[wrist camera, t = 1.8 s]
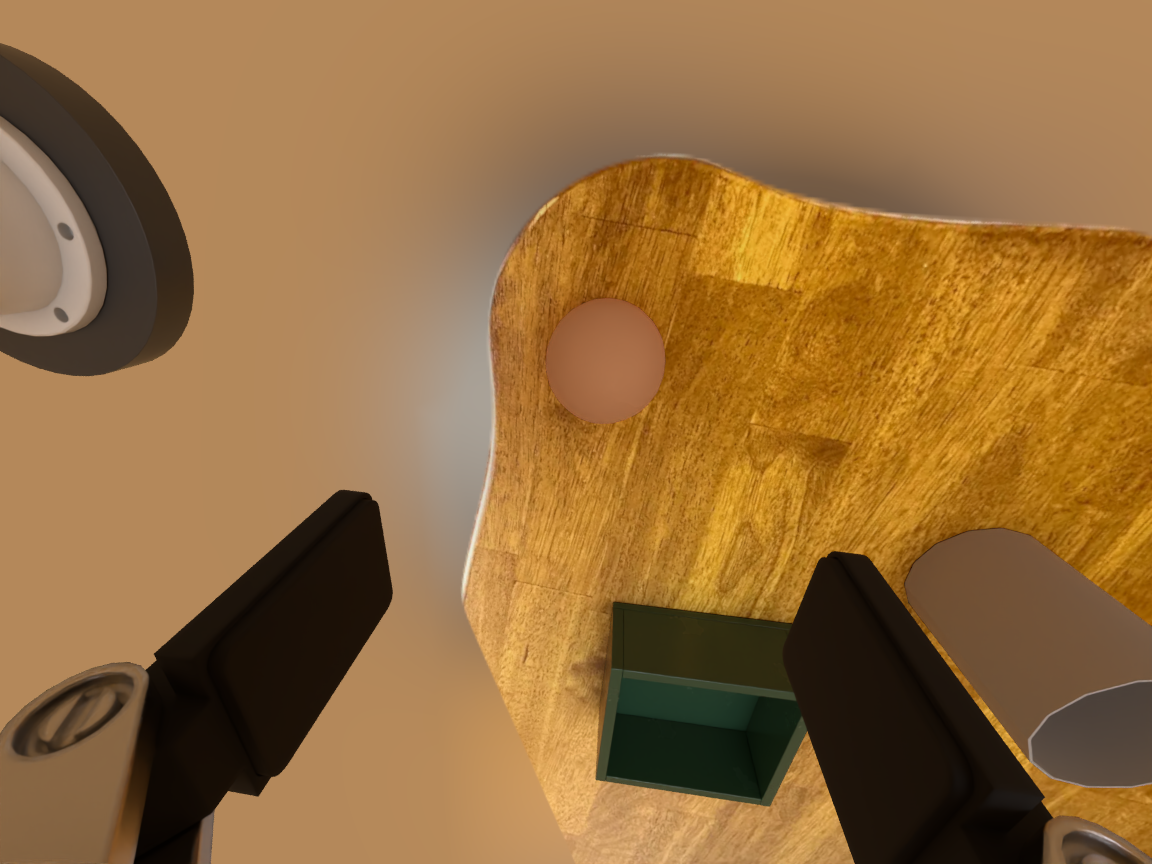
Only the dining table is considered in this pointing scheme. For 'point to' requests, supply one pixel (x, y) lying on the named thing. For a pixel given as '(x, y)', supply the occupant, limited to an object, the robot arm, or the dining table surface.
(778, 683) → the dark green open crate
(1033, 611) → the cup
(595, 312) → the egg
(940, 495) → the dining table surface
